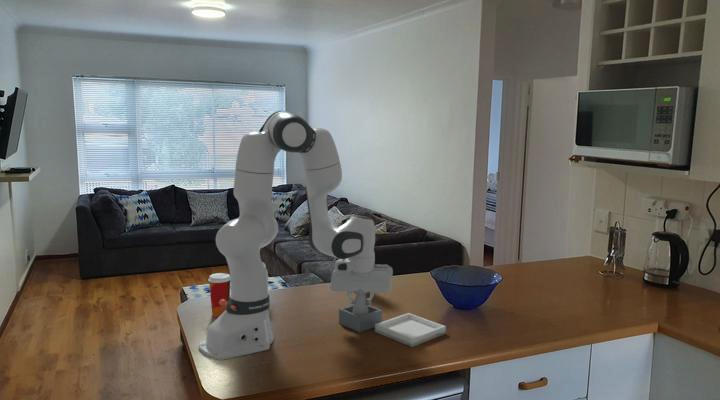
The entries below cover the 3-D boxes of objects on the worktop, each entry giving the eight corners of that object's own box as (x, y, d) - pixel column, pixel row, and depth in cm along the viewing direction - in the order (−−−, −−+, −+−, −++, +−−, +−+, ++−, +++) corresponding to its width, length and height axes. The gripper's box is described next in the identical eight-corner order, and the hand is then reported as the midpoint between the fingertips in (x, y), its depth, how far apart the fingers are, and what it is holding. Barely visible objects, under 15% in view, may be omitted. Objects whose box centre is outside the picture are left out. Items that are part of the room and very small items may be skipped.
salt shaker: (372, 323, 185) (372, 285, 183) (363, 328, 180) (364, 290, 178) (357, 319, 188) (357, 282, 186) (348, 324, 183) (348, 287, 181)
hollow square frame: (359, 332, 177) (359, 317, 176) (338, 323, 184) (339, 309, 184) (382, 324, 184) (382, 310, 183) (361, 316, 191) (361, 302, 190)
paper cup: (220, 309, 196) (219, 271, 194) (236, 313, 192) (235, 274, 190) (204, 316, 189) (202, 276, 187) (220, 320, 186) (219, 280, 183)
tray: (411, 347, 166) (412, 339, 166) (374, 331, 178) (375, 324, 177) (445, 333, 177) (445, 326, 176) (408, 319, 188) (408, 312, 188)
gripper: (393, 262, 183) (392, 302, 185) (332, 260, 185) (331, 299, 187) (392, 267, 177) (391, 308, 179) (329, 265, 179) (329, 306, 181)
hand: (360, 304), depth 183 cm, fingers closed on salt shaker, 4 cm apart
